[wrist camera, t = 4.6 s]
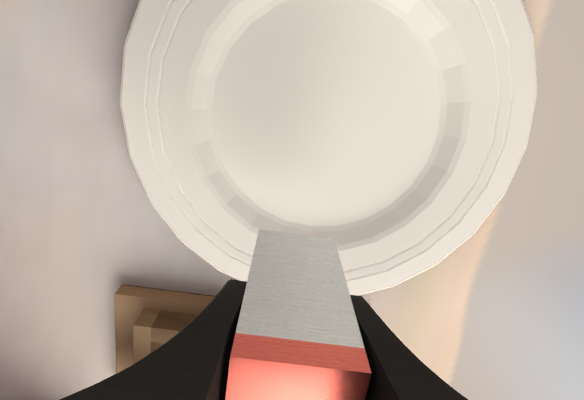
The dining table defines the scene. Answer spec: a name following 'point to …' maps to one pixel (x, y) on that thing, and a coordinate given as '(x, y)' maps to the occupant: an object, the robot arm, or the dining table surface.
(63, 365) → the dining table surface
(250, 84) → the plate
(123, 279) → the dining table surface
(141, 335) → the board
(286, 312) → the pin
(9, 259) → the dining table surface
